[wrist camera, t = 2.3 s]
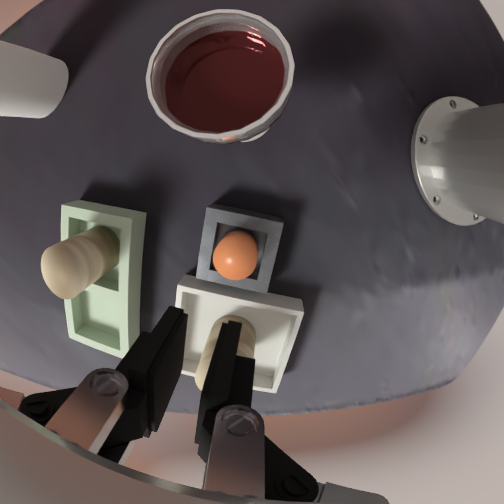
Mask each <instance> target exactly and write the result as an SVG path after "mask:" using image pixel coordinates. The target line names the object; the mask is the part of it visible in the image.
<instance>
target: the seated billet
mask: <svg viewBox="0 0 504 504" xmlns="http://www.w3.org/2000/svg"><path fill="white" fill-rule="evenodd" d="M119 253H120V240H119V238H118V237H117V235H116V234H115V233H114V232H113V231H112V230H111V229H110V228H108V227H105V226H96V227H94V228H91V229H89V230H86V231H84V232H82V233H80V234H77V235H75V236H73V237H70V238H68V239H66V240H64V241H61V242H59V243H57V244H55V245H53V246H51V247H49V248H47V249H46V250H45V251H44V253H43V255H42V259H41V270H42V274H43V277H44V280H45V282H46V284H47V286H48V287H49V288H50V290H51V291H52V292H53V293H54V294H55V295H57V296H58V297H60V298H62V299H72V298H74V297H75V296H77V295H78V294H79V293H81V292H82V291H83V290H85V289H86V288H87V287H89V286H90V285H91V284H93V283H94V282H95V281H97V280H98V279H99V278H101V277H102V276H103V275H105V274H106V273H107V272H109V271H110V270H112V269H113V268H114V267H116V266H117V265H118V263H119Z"/></svg>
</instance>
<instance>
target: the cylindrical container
mask: <svg viewBox="0 0 504 504" xmlns="http://www.w3.org/2000/svg"><path fill="white" fill-rule="evenodd" d="M67 84H68V68H67V66H66V64H65V63H64V62H63V61H62V60H59V59H57V58H54V57H51V56H48V55H45V54H42V53H39V52H36V51H33V50H30V49H27V48H24V47H21V46H17V45H14V44H10V43H7V42H3V41H0V116H14V117H29V118H43V117H46V116H47V115H49V114H50V113H51V112H53V111H54V110H55V108H56V107H57V106H58V105H59V103H60V102H61V100H62V98H63V96H64V94H65V91H66V88H67Z"/></svg>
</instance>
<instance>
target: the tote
mask: <svg viewBox="0 0 504 504" xmlns="http://www.w3.org/2000/svg"><path fill="white" fill-rule="evenodd" d="M175 307H177V308H181V309H184V313H186V314H188V321H187V330H186V340H185V350H184V360H183V368H182V372H181V373H182V374H186V375H189V376H193V377H195V373H196V370H197V367H198V365H199V362H200V359H201V356H202V353H203V351H204V348H205V345H206V342H207V339H208V337H209V334H210V331H211V328H212V326H213V324H214V323H215V321H216V320H218V319H219V318H221V317H223V316H227V315H236V316H240V317H243V318H245V319H246V320H248V321H249V322H250V323H251V324H252V325H253V327H254V329H255V332H256V340H255V350H254V359H255V371H254V381H253V390H259V391H264V392H270V393H276V391H277V389H278V386H279V384H280V381H281V378H282V375H283V373H284V370H285V367H286V364H287V362H288V359H289V356H290V353H291V350H292V347H293V345H294V342H295V339H296V336H297V333H298V330H299V327H300V324H301V321H302V318H303V315H304V308H303V303H302V299H298V298H293V297H288V296H283V295H278V294H273V293H268V292H267V294H265V293H261V292H256V291H251V290H246V289H242V288H237V287H233V286H228V285H224V284H219V283H215V282H210V281H206V280H202V279H197V278H196V276H191V275H187V274H185V276H184V277H183V278H182V279H181V281H180V282H179V283H178V285H177V295H176V305H175Z"/></svg>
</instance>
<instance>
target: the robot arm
mask: <svg viewBox="0 0 504 504" xmlns="http://www.w3.org/2000/svg"><path fill="white" fill-rule="evenodd" d="M420 139H421V142H420ZM411 162H412V169H413V173H414V178H415V181H416V183H417V186H418V189H419V191H420V193H421V195H422V197H423V198H424V200H425V202H426V203H427V204H428V206H429V207H430V208H431V209H432V211H433V212H435V213H436V214H437V215H438V216H439V217H441V218H442V219H444V220H446V221H448V222H451V223H454V224H456V225H463V226H468V225H474V224H476V223H479V222H481V221H483V220H484V219H485V218H488V219H491V220H494V221H497V222H500V223H502V224H504V103H499V104H494V105H488V106H482V107H479V106H478V105H477V104H475V103H474V102H472V101H470V100H468V99H466V98H462V97H458V96H448V97H444V98H440V99H438V100H436V101H434V102H432V103H430V104H429V105H428V106H427V107H426V108H425V109H424V110H423V111H422V113H421V114H420V116H419V117H418V120H417V122H416V124H415V127H414V130H413V135H412V140H411ZM433 198H434V200H433ZM187 321H188V314H186V313H184V309H181V308H177V307H173V306H169V307H168V309H167V310H166V312H165V313H164V315H163V316H162V318H161V319H160V321H159V322H158V323H157V325H156V326H155V328H154V329H153V331H152V332H151V333H148V332H142V333H141V334H140V335H139V337H138V338H137V339H136V341H135V342H134V344H133V345H132V346H131V348H130V349H129V351H128V352H127V353H126V355H125V356H124V358H123V359H122V360H121V362H120V363H119V365H118V366H117V368H116V369H115V370H114V369H110V368H101V369H96V370H94V371H92V372H91V373H89V374H88V375H87V376H86V377H85V379H84V380H83V381H82V382H81V383H80V384H79V386H78V387H74V388H68V389H62V390H56V391H50V392H43V393H36V394H32V395H29V396H27V397H25V396H24V394H23V393H20V392H16V391H13V390H9V389H6V388H2V387H0V504H389V502H388V500H387V499H386V498H385V497H383V496H381V495H379V494H375V493H370V492H365V491H360V490H356V489H352V488H347V487H343V486H339V485H336V484H332V483H329V482H326V483H325V484H322V483H319V482H317V481H316V479H315V478H314V477H313V476H312V475H311V474H310V473H308V472H307V471H306V470H305V469H303V468H302V467H301V466H300V465H298V464H297V463H296V462H295V461H294V460H292V459H291V458H290V457H289V456H288V455H287V454H285V453H284V452H283V451H282V450H281V449H280V448H278V447H277V446H276V445H275V444H274V443H273V442H272V441H271V440H269V439H268V438H267V437H266V436H265V435H264V421H263V419H262V417H261V415H260V414H259V413H258V412H256V411H255V410H254V409H252V408H251V401H252V391H253V381H254V371H255V359H253V358H248V357H243V356H238V355H236V354H237V349H238V344H239V339H240V333H241V328H242V323H241V322H236V321H232V320H229V321H228V323H224V322H222V326H221V329H220V332H219V335H218V338H217V342H216V345H215V348H214V351H213V355H212V358H211V361H210V365H209V368H208V371H207V374H206V378H205V381H204V384H203V388H202V393H201V399H200V406H199V413H198V420H197V427H196V435H195V443H197V444H199V448H198V455H199V456H200V457H201V458H202V459H203V461H204V462H205V463H206V466H205V472H204V478H203V485H202V489H198V488H194V487H189V486H185V485H182V484H178V483H174V482H171V481H167V480H164V479H160V478H157V477H154V476H150V475H148V474H145V473H142V472H139V471H136V470H133V469H130V468H128V467H125V466H123V465H124V463H125V461H126V459H127V457H128V455H129V453H130V451H131V450H132V448H133V446H134V443H135V440H136V439H139V438H142V437H143V436H145V437H148V438H149V437H150V434H151V432H152V431H154V432H157V430H158V428H159V425H160V423H161V421H162V418H163V416H164V413H165V411H166V408H167V406H168V403H169V401H170V398H171V396H172V394H173V391H174V389H175V386H176V384H177V382H178V379H179V377H180V374H181V372H182V368H183V360H184V350H185V340H186V330H187Z"/></svg>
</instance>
